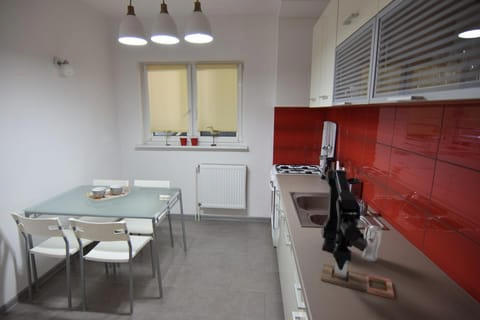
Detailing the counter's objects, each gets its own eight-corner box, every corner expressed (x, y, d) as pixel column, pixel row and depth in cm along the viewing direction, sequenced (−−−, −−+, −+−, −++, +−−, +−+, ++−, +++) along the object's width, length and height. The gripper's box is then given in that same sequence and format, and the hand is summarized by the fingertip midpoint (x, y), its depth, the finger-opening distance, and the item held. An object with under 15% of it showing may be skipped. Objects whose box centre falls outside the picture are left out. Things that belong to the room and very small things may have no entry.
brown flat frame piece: (323, 266, 117) (323, 264, 117) (390, 282, 107) (391, 279, 107) (320, 279, 108) (321, 277, 108) (393, 298, 98) (394, 296, 98)
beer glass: (358, 257, 125) (362, 227, 121) (365, 252, 129) (369, 223, 126) (373, 264, 119) (377, 233, 116) (380, 258, 124) (384, 228, 121)
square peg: (334, 272, 113) (336, 255, 111) (345, 275, 111) (347, 258, 109) (333, 279, 109) (335, 261, 107) (345, 282, 107) (347, 264, 105)
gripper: (368, 243, 94) (363, 282, 97) (366, 222, 111) (362, 256, 114) (335, 237, 98) (331, 274, 102) (338, 217, 115) (334, 250, 118)
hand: (341, 263), depth 109 cm, fingers open, 9 cm apart
